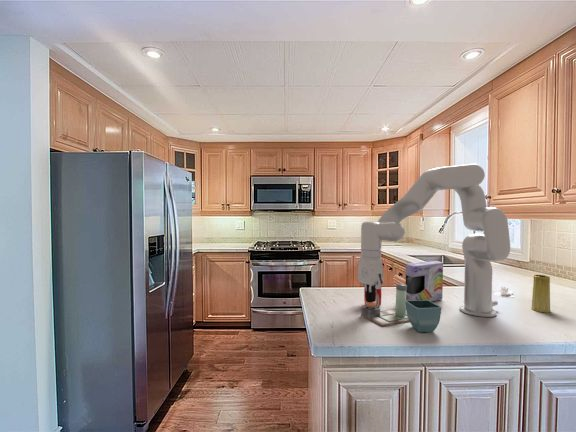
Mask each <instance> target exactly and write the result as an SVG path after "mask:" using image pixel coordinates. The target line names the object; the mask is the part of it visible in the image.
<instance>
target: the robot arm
mask: <svg viewBox="0 0 576 432" xmlns="http://www.w3.org/2000/svg"><path fill="white" fill-rule="evenodd" d="M485 176H486V174H485V171H484V168H483V167H482V166H480V165H479V164H477V163H469V164H467V163H466V164H460V165H459V164H458V165H449V166H441V167H435V168H432V169H428V170H424V171H423V173H421V174H420V176H419V177H418V179H416V181H415V182H414V183H413V185H412V186H411V187H409V189H408V191H407V192H406V193H405V194H404V195H403V196H402V197H401V198H400V199H399V200H396V202H395V203H394V204H393V205H391V206H390V207H389V208H388V209H387V210H386V211H384V212H383V214H382V215H381V216H380V218H379V219H378V220H377V221H364V222H362V223H361V227H360V228H361V231H360V233H361V234H360V256H359V259H358V264H357V265H358V266H357V280H358V281H359V282H360V283H361V285H363V287H364V286H365V291H366V301H367V302H375V292H376V291H377V289H381V290H382V285H383V283H384V267H383V266H384V265H383V260H382V259H383V258H382V241H387V242H399V241H401V240H402V239H403V237H405V233H406V232H405V228H404V226H403V225H402V224H401V222H402V221H403V220H405V219H406V218H408V217H410V216H412V215H415V214H417V213H419V212H421V211H423V209H424V208H425V207H426V206H427V204H429V202H430V200H431V199H432V198H433V197H434V196H435V195H436V193H437V192H438V191H445V190H454V192H456V193H457V195H458V197H459V199H460V200H459V201H460V205H461V212H462V221H463V225H464V227H465V228H466V229H467V230H470V231H472V232H473V231H474V232H480V233H473V234H472V233H471V234H469V235H467V236H466V237H464V239H463V240H462V245H461V247H462V249H461V250H462V253H463V259H464V281H463V282H464V286H463V289H464V290H463V291H464V292H463V304H460V306H459V310H460V311H461V312H462V313H464V314H466V315H469V316H470V315H471V316H475V317H482V318H492V317H495V316H496V315H497V311H496V310H495V309H494V308H493V307H495V306H498V305H499V303H498V301H497V300H493V265H492V263H491V261H492V262H501V261H505V260H506V259H508V257H509V256H510V253H511V240H510V231H509V230H510V229H509V222H508V218H507V215H506V213H505V212H504V211H503V210H502V209H500V208H497V207H492V206H489V207H488V204H487V199H486V194H485V192H484V190H483V188H482V186H481V184H482V183H483V181H484V180H485ZM481 232H483V233H481ZM372 286H373V287H372Z"/></svg>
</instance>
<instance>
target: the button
mask: <svg viewBox="0 0 576 432" xmlns="http://www.w3.org/2000/svg"><path fill="white" fill-rule="evenodd" d="M364 306H368V309H370V310H371V309H373V307H374V306H376V301H375V302H367V301H364Z"/></svg>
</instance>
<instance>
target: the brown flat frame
mask: <svg viewBox="0 0 576 432" xmlns="http://www.w3.org/2000/svg"><path fill="white" fill-rule="evenodd" d="M360 308H361V309H360V310H361V313H360V315H361V317H362V316H363V318H364V319H367V320H368V321H370V322H372V323H374V324H376V325H378V326H380V327H382V328H384V327H389V326H393V325H401V324H405V323H410V321H409V319H408V316H407V313H405V318H399V317H396V316H395V309H394V308H391V309H386V310H381V308H379V307H378V308H377V307H375V306H374V307H373V309H371V310H370V309H368V306H366V305H364V306H361V307H360Z"/></svg>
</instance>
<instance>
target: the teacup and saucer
mask: <svg viewBox="0 0 576 432" xmlns="http://www.w3.org/2000/svg"><path fill="white" fill-rule="evenodd" d="M493 294H494V296H497V297H501V298H504V297H506V298H515V295H514V292H513V291H511V290H509V288H508V287H506V286H500V288H499V292H494V293H493Z"/></svg>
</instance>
